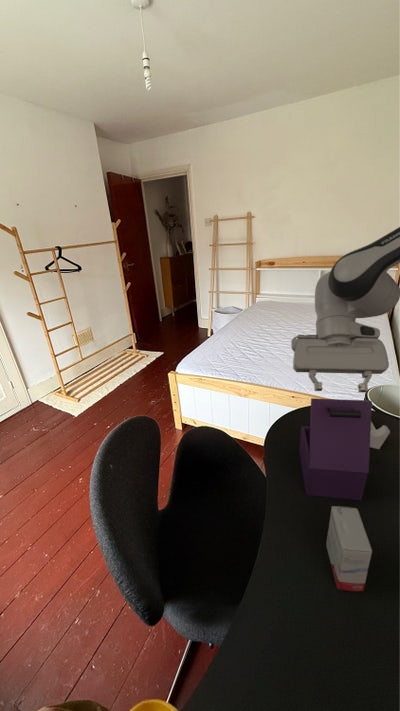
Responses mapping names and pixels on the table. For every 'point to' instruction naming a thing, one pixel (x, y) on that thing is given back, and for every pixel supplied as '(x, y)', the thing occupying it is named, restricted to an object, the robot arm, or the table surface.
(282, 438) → the table surface
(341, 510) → the ink box
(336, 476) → the box
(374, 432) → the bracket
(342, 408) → the lid
